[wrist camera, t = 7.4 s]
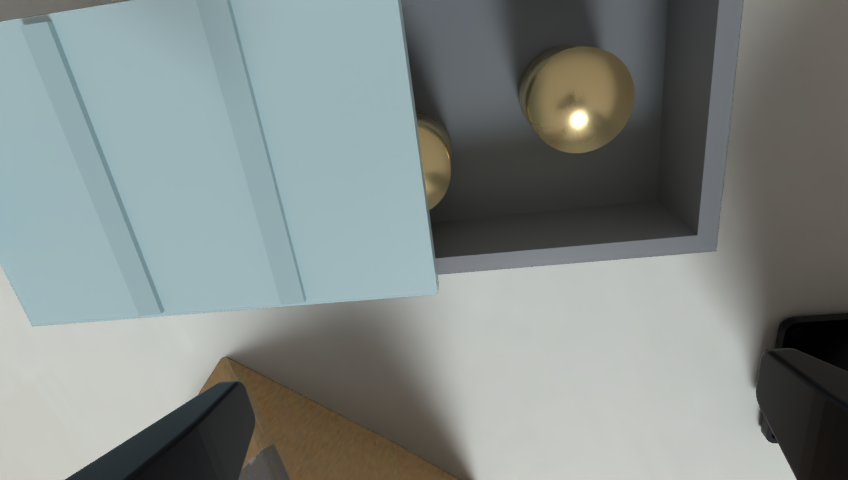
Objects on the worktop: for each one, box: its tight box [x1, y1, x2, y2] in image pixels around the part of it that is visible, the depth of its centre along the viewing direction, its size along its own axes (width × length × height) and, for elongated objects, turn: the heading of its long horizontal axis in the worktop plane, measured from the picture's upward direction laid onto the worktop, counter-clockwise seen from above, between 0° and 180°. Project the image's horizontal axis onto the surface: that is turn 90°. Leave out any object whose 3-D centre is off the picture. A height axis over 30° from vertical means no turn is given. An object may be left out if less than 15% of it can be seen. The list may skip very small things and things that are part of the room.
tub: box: [401, 0, 743, 274], centre depth 16 cm, size 14×9×4 cm, turn 98°
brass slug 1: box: [416, 111, 452, 210], centre depth 17 cm, size 3×3×3 cm
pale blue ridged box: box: [0, 0, 439, 326], centre depth 13 cm, size 16×9×5 cm, turn 98°
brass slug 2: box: [518, 45, 635, 153], centre depth 16 cm, size 3×3×3 cm
